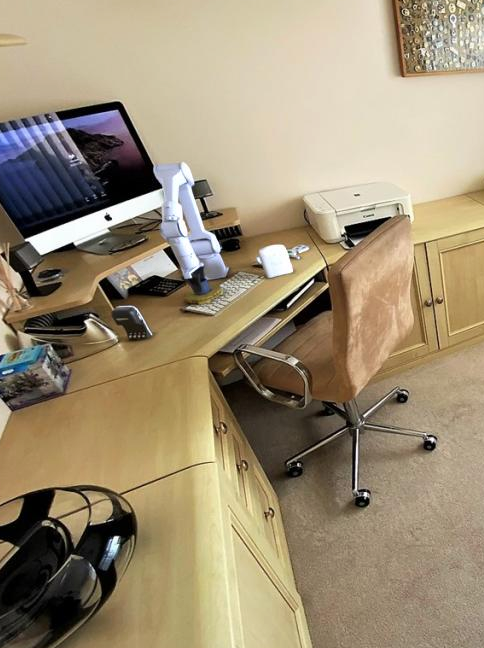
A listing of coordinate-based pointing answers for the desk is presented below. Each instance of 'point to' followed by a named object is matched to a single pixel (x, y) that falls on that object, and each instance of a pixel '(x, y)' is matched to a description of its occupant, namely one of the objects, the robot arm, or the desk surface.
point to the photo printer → (275, 260)
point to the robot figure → (291, 252)
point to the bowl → (203, 287)
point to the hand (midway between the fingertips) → (200, 287)
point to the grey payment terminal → (132, 322)
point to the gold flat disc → (204, 295)
